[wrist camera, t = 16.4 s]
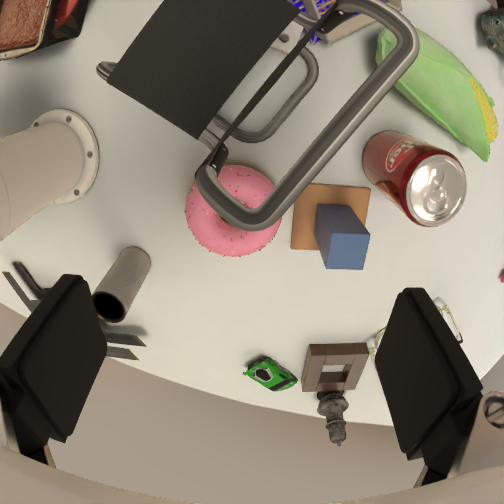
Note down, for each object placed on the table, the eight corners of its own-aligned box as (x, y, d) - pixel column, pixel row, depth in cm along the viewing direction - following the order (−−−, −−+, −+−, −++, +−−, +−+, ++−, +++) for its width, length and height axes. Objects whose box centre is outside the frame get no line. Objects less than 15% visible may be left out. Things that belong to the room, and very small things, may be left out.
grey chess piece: (312, 388, 54) (319, 444, 43) (343, 381, 53) (355, 435, 42) (318, 404, 56) (325, 456, 46) (347, 397, 55) (357, 448, 45)
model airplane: (17, 297, 48) (2, 313, 43) (15, 253, 42) (-4, 269, 38) (137, 372, 51) (126, 393, 47) (150, 337, 45) (138, 361, 41)
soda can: (412, 189, 35) (462, 229, 25) (359, 187, 36) (397, 230, 25) (416, 132, 32) (474, 154, 21) (361, 127, 32) (407, 147, 22)
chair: (258, 155, 34) (257, 248, 15) (133, 73, 29) (-8, 73, 10) (331, 67, 29) (436, 41, 10) (201, -17, 24) (132, -123, 5)
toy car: (301, 379, 52) (302, 389, 50) (280, 389, 54) (281, 399, 52) (263, 351, 49) (263, 362, 47) (242, 364, 50) (241, 374, 48)
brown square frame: (301, 381, 52) (302, 392, 50) (309, 344, 48) (311, 355, 46) (352, 379, 52) (354, 389, 50) (366, 342, 48) (369, 353, 46)
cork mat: (290, 247, 40) (290, 249, 39) (296, 182, 36) (296, 183, 35) (358, 249, 40) (359, 251, 39) (369, 187, 36) (371, 189, 35)
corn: (403, -5, 20) (518, 110, 24) (364, 33, 28) (475, 127, 32) (397, 33, 19) (523, 162, 23) (350, 75, 27) (473, 175, 31)
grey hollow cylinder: (149, 247, 40) (122, 294, 31) (152, 276, 42) (128, 325, 33) (118, 245, 40) (86, 289, 31) (122, 273, 42) (94, 320, 33)
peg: (313, 234, 38) (325, 268, 31) (317, 203, 36) (331, 232, 29) (345, 235, 38) (363, 270, 31) (350, 205, 36) (370, 234, 29)
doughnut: (290, 170, 35) (294, 179, 31) (270, 253, 40) (271, 271, 36) (195, 153, 34) (187, 161, 30) (185, 239, 39) (177, 255, 36)
